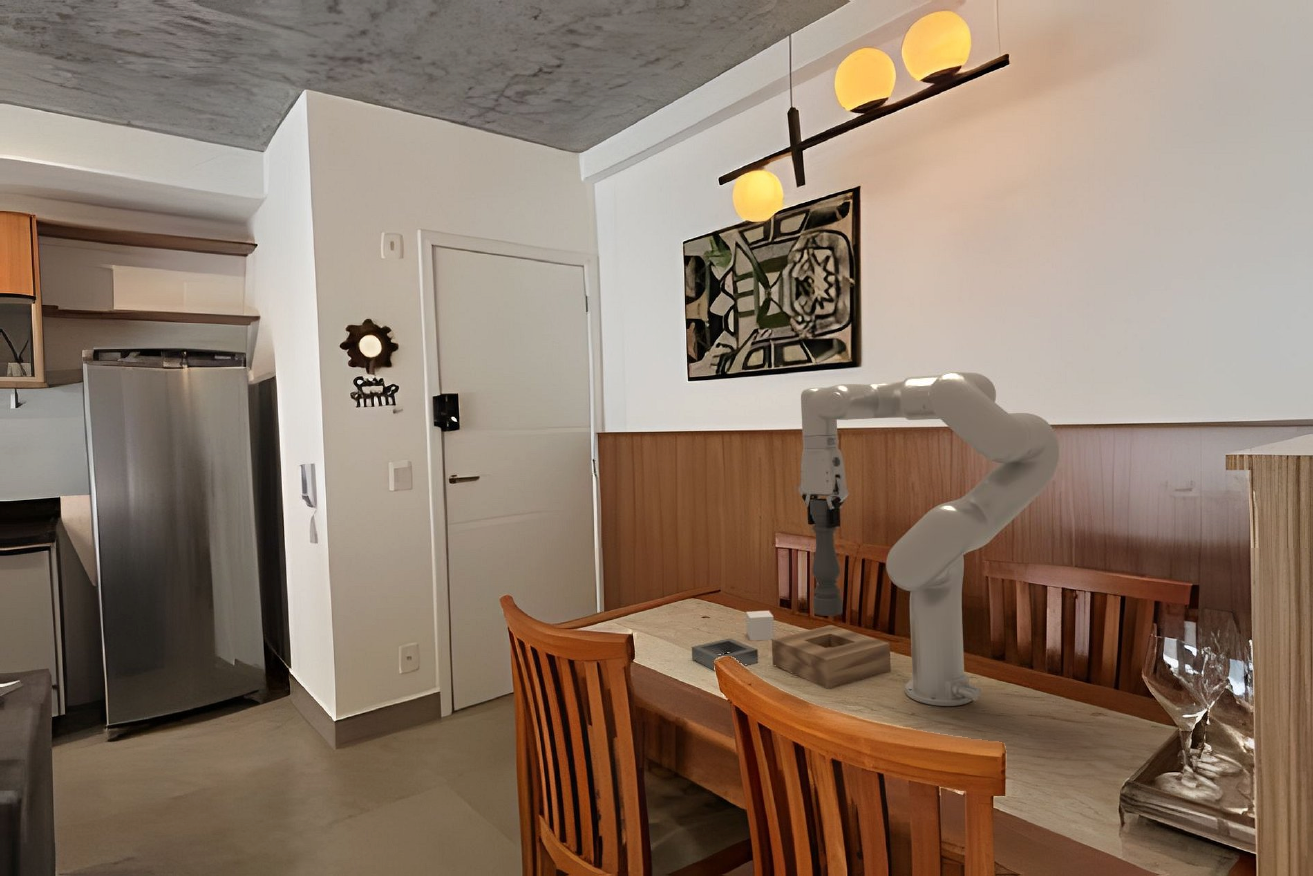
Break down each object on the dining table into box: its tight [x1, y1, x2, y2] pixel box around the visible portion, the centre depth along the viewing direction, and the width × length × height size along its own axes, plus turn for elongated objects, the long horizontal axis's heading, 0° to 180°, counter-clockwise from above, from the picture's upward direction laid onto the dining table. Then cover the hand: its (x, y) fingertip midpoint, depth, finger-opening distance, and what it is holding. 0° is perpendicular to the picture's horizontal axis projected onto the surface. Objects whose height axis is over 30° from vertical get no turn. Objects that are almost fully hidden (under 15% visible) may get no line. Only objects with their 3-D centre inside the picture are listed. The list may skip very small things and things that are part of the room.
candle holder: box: [810, 497, 843, 617], centre depth 158 cm, size 6×6×25 cm
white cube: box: [745, 610, 775, 642], centre depth 184 cm, size 6×6×6 cm
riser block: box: [771, 624, 892, 689], centre depth 158 cm, size 18×18×6 cm
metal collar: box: [691, 638, 759, 671], centre depth 166 cm, size 11×11×3 cm
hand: (823, 524), depth 158 cm, fingers closed on candle holder, 5 cm apart
